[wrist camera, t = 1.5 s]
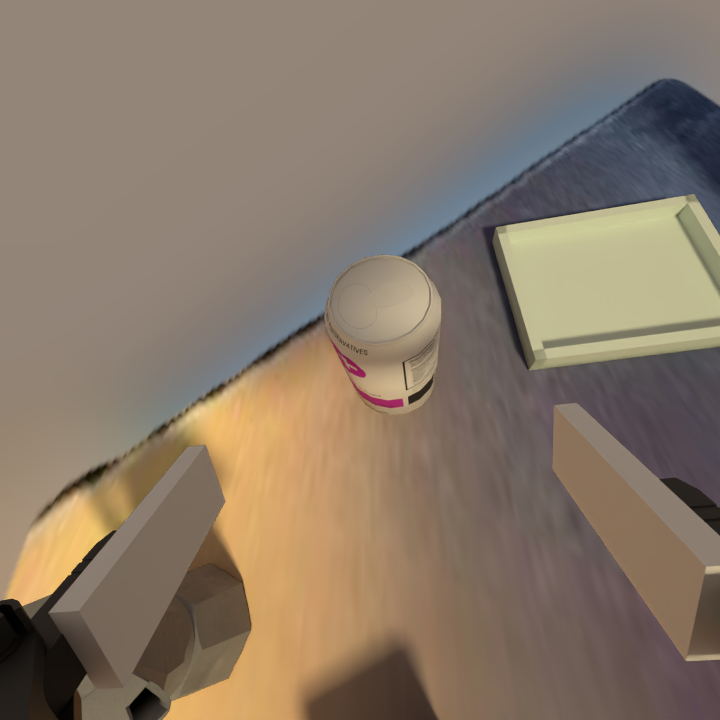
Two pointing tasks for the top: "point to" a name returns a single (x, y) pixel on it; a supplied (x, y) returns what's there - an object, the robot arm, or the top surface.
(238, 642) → the coffeepot
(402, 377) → the supplement can
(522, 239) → the tray
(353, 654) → the top surface
